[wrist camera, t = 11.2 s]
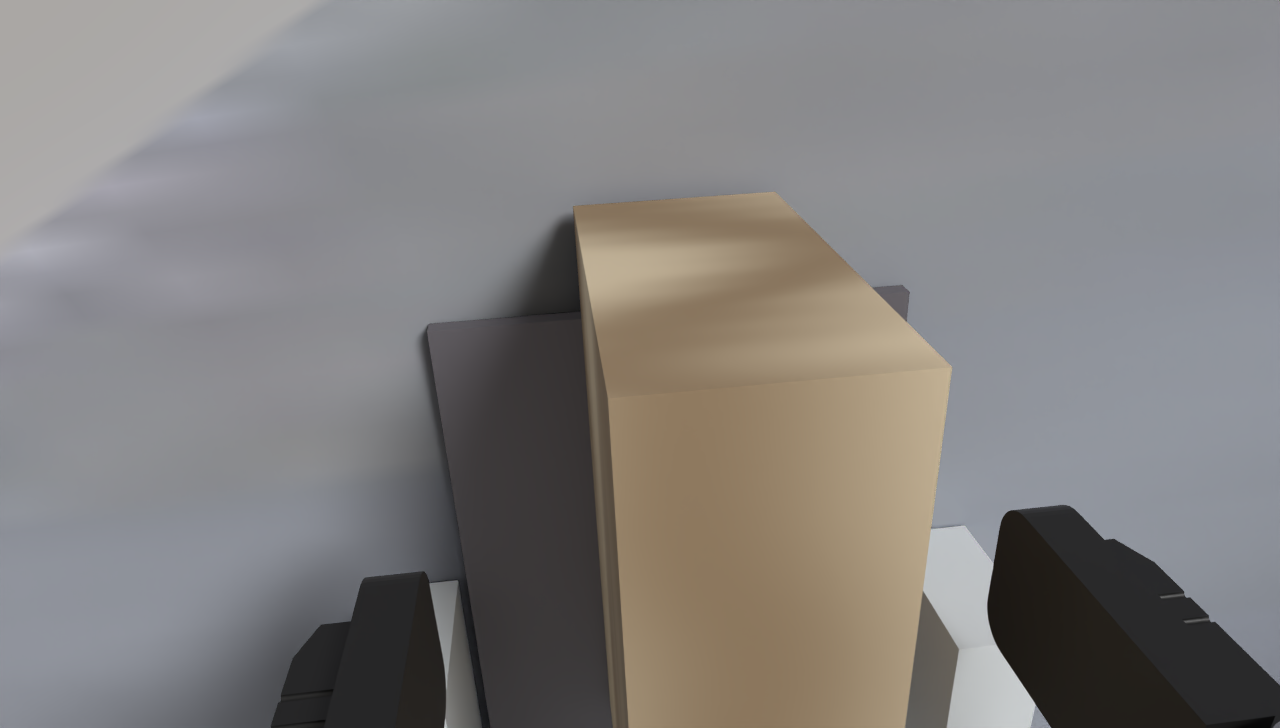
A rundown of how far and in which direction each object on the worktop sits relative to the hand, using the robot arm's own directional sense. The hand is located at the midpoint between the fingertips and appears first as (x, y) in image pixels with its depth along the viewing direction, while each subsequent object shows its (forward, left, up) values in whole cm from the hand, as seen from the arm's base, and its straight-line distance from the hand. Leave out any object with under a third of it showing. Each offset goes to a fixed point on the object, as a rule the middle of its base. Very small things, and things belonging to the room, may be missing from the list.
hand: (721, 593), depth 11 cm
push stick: (0, +1, -4) cm, 4 cm away
